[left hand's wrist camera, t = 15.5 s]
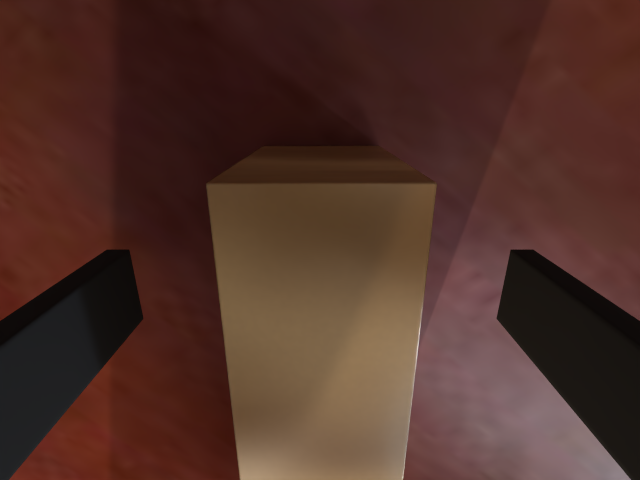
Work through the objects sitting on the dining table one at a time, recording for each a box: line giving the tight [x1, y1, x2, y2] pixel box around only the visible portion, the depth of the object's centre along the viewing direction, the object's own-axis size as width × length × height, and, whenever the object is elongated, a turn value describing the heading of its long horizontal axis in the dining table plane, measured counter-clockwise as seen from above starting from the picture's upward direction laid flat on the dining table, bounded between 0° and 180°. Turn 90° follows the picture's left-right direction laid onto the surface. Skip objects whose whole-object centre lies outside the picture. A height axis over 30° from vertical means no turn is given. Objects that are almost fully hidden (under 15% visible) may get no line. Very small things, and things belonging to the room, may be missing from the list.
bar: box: [206, 146, 437, 480], centre depth 15 cm, size 23×5×8 cm, turn 0°
